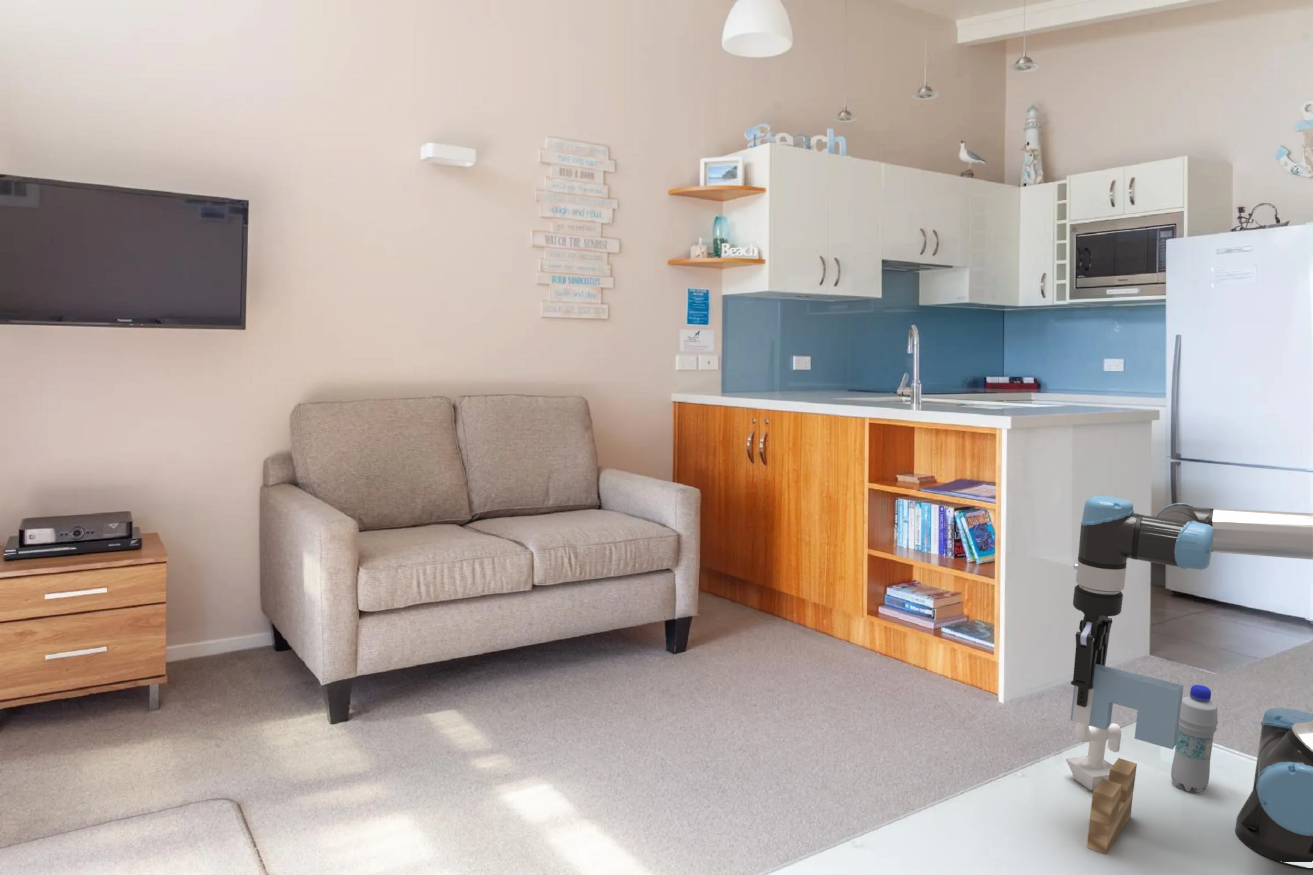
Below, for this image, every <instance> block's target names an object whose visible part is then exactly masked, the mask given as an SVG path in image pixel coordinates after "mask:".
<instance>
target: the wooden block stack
mask: <svg viewBox="0 0 1313 875" xmlns="http://www.w3.org/2000/svg"><path fill="white" fill-rule="evenodd" d="M1112 765H1113V766H1112V767H1111V769H1110V773H1109V780H1105V779H1102V780H1101V782H1100V783H1099V784H1098V785H1097V787H1096V788H1095V789H1094V791H1092V798H1091V799H1092V800H1091V808H1090V815H1089V822H1088V823H1089V824H1088V831H1087V833H1088V834H1087V842H1086V848H1088V849H1090V850H1093V851H1096V852H1099V853H1101V854H1103V855H1107V853H1108V852H1109V850H1110V849H1111V847H1112V846H1113V844H1114V842H1115V841H1116V839H1117V838H1118V836H1119V835H1120V833H1122V832H1121V831H1122V830H1123V829H1124V827H1125V825H1126V824H1127V823H1128V821H1129V819H1130V818H1131V816H1132V808H1133V801H1134V800H1133V798H1134V791H1135V790H1134V789H1135V783H1136V776H1137V775H1136V773H1137V767H1138V766H1137V765H1138V763H1136V762H1133V761H1129V760H1126V759H1123V758H1121V757H1118V758H1117V760H1116V761H1115V762H1114V764H1112Z"/></svg>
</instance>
